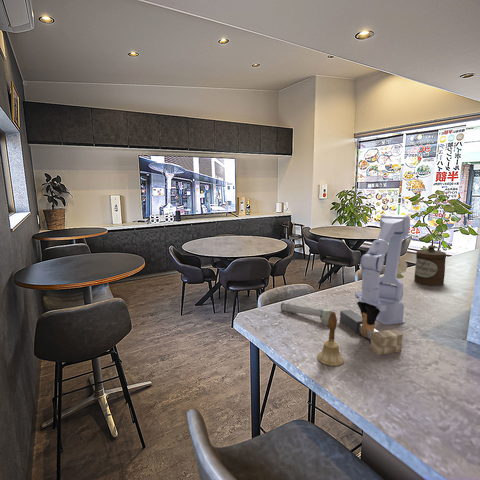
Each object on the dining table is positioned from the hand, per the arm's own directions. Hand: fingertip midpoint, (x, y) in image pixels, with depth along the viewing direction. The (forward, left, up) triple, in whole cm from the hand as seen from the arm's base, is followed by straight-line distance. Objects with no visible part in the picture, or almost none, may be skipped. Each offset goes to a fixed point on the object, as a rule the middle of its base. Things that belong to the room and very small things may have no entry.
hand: (368, 322), depth 110 cm
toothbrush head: (+13, -23, -6) cm, 27 cm away
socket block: (0, +9, -6) cm, 11 cm away
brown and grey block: (0, -3, -6) cm, 6 cm away
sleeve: (0, -9, -6) cm, 11 cm away
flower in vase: (-26, -21, -6) cm, 34 cm away
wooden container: (-79, -50, -6) cm, 93 cm away
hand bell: (+21, +9, -6) cm, 24 cm away
